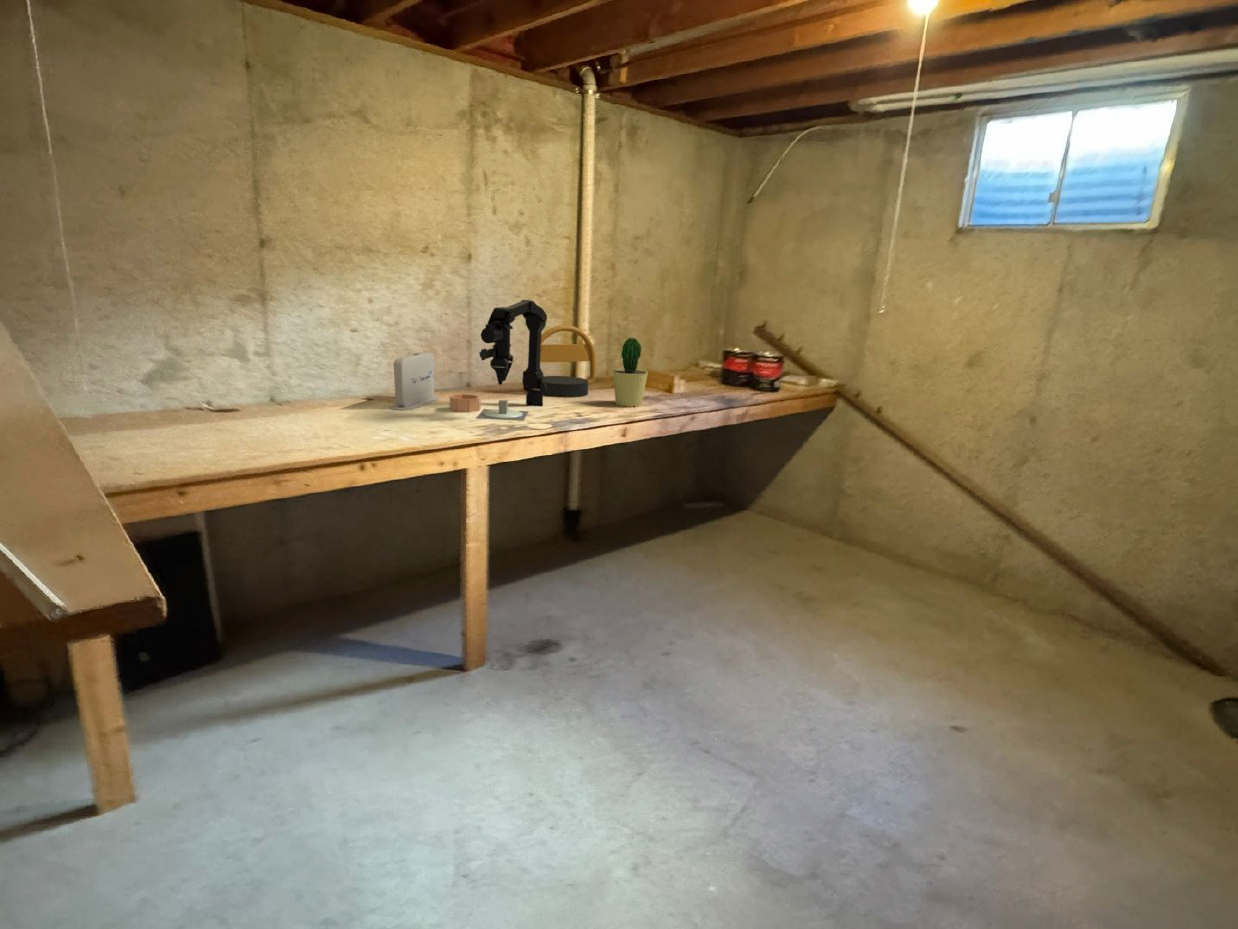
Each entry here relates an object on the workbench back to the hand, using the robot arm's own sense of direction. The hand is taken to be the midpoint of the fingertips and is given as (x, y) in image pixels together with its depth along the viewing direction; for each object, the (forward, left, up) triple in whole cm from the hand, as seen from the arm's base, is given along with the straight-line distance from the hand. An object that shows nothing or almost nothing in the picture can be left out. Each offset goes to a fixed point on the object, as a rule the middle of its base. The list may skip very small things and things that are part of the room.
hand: (501, 382), depth 264 cm
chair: (-20, -59, -13) cm, 64 cm away
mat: (-1, 0, -13) cm, 13 cm away
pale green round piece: (-1, 0, -13) cm, 13 cm away
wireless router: (+37, -16, -13) cm, 43 cm away
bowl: (+15, -7, -13) cm, 21 cm away
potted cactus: (-51, -37, -13) cm, 64 cm away
